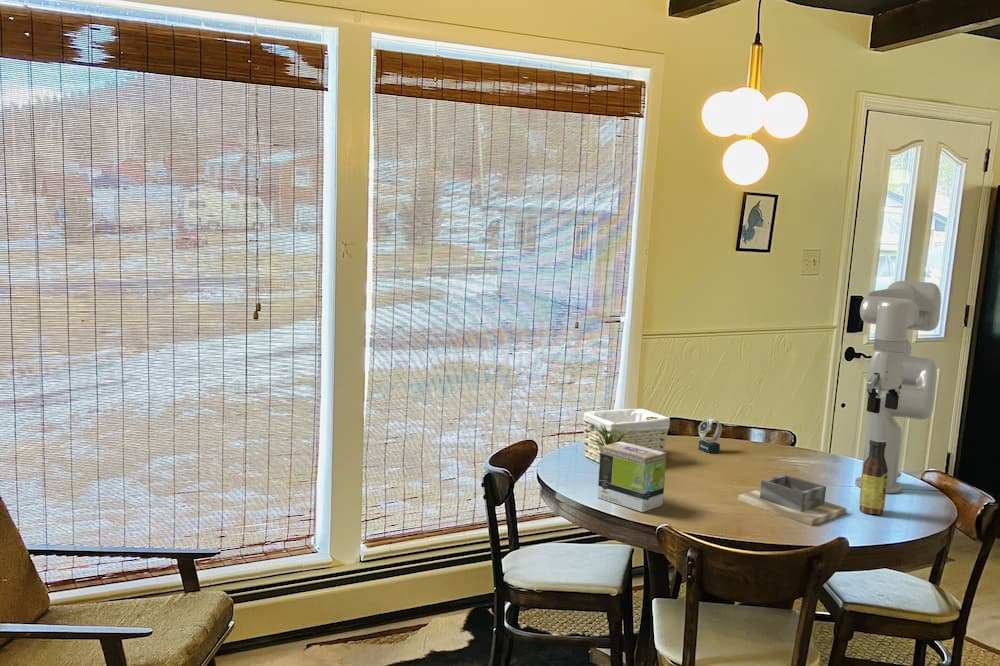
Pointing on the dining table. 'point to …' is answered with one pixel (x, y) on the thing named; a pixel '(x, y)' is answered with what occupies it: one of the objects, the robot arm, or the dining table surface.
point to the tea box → (632, 476)
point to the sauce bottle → (874, 479)
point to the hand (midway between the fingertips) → (882, 410)
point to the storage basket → (641, 433)
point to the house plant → (610, 439)
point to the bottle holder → (793, 499)
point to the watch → (711, 445)
